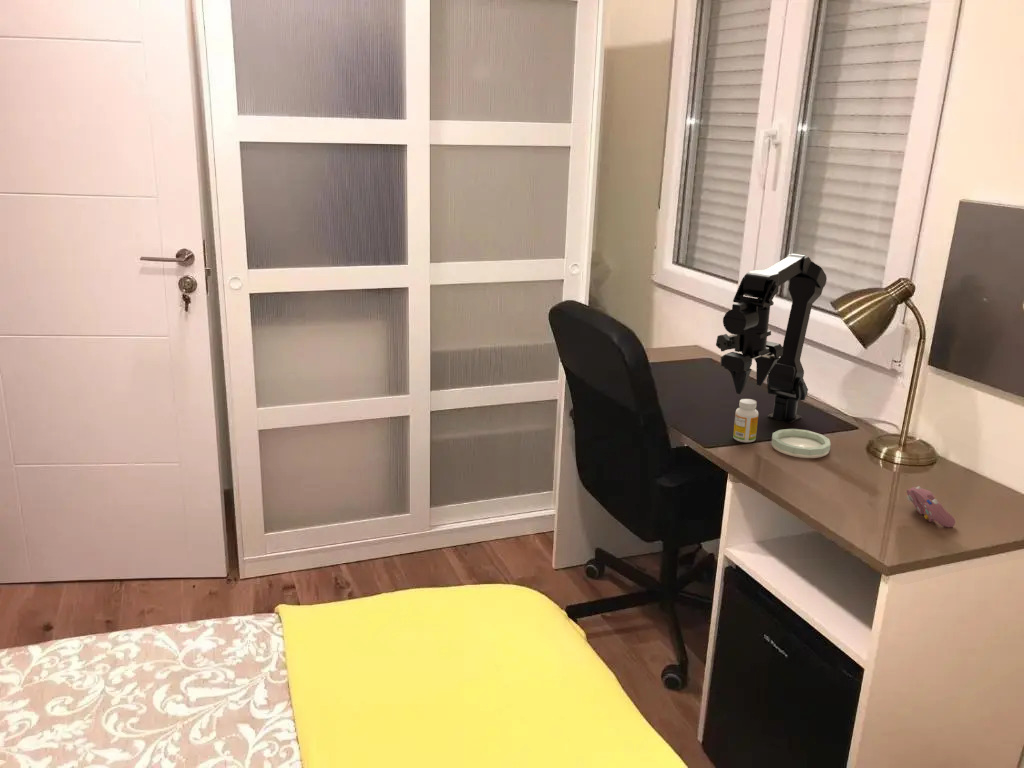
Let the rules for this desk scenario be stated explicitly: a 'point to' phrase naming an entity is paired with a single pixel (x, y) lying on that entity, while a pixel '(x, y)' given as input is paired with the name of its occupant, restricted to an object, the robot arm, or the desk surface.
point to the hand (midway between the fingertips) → (749, 389)
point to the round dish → (800, 443)
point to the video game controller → (929, 506)
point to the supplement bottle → (746, 421)
